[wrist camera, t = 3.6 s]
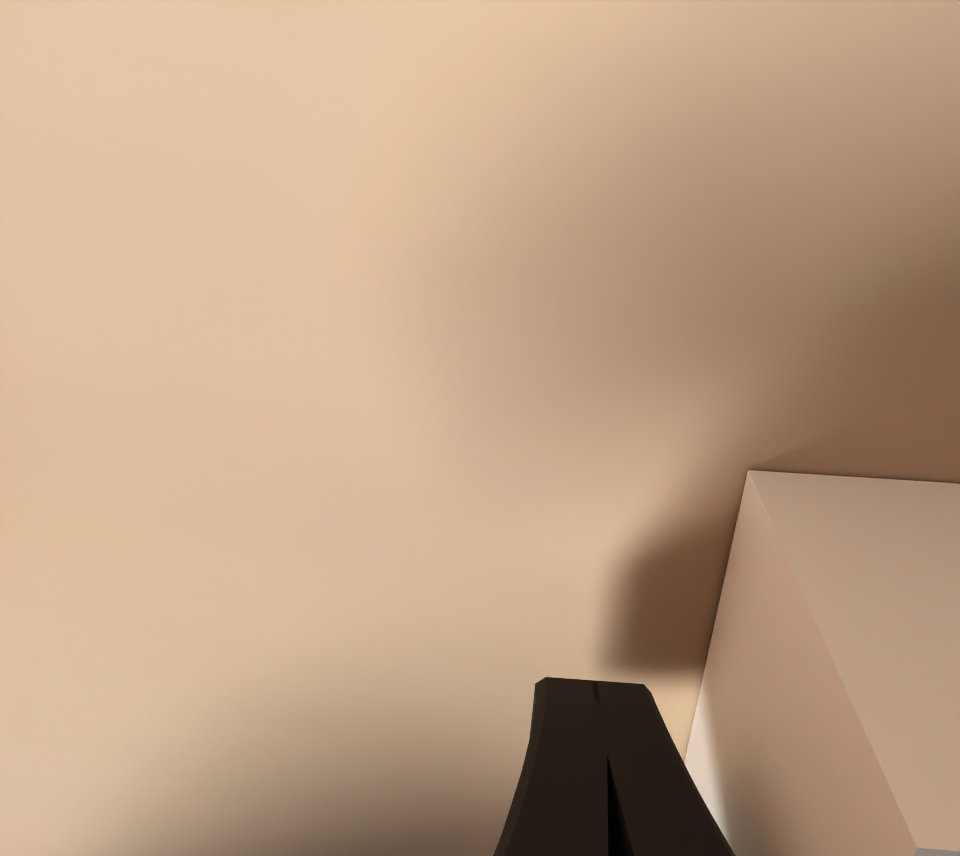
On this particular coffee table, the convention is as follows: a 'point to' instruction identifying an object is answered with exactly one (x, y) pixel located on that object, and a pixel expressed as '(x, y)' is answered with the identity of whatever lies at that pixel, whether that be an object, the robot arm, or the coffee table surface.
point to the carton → (835, 671)
